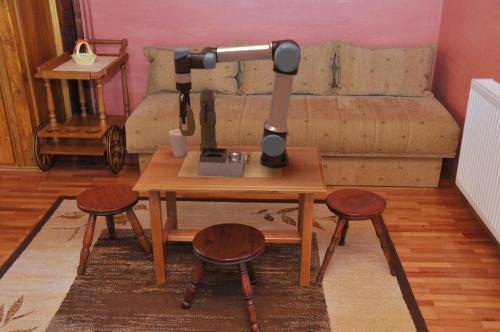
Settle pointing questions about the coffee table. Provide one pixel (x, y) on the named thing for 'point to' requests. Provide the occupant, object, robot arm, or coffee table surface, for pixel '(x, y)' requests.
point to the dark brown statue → (207, 120)
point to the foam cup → (177, 142)
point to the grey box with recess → (221, 162)
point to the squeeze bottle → (188, 122)
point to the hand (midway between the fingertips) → (186, 126)
